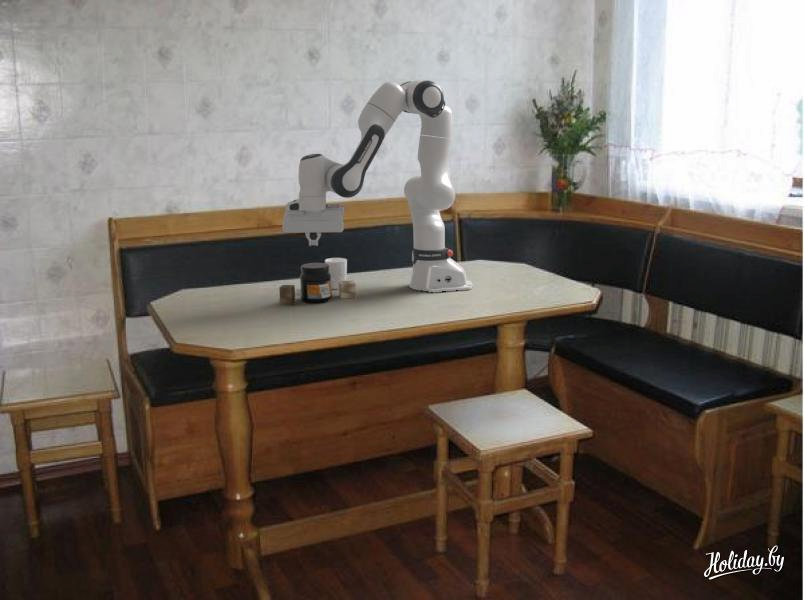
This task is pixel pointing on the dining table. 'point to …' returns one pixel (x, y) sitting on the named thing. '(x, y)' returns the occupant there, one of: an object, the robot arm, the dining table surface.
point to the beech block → (347, 289)
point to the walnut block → (287, 294)
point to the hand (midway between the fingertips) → (313, 245)
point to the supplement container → (315, 283)
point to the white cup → (337, 270)
